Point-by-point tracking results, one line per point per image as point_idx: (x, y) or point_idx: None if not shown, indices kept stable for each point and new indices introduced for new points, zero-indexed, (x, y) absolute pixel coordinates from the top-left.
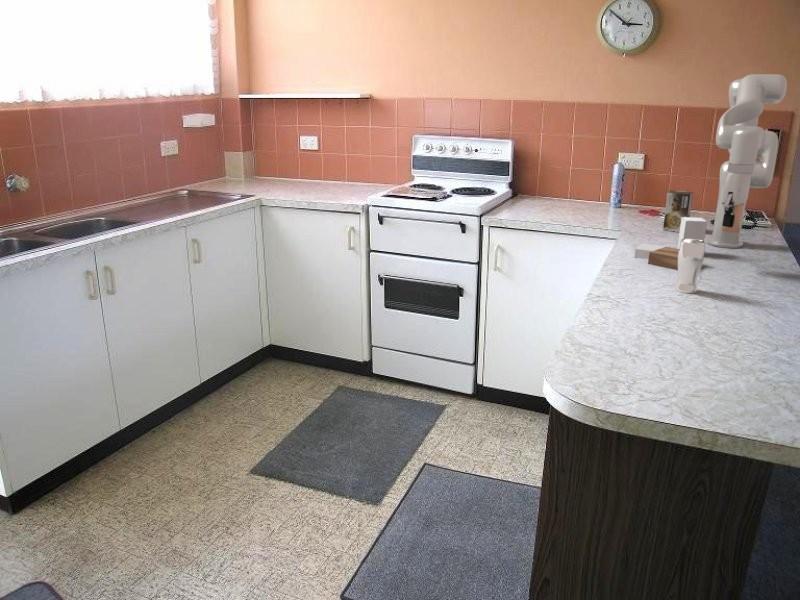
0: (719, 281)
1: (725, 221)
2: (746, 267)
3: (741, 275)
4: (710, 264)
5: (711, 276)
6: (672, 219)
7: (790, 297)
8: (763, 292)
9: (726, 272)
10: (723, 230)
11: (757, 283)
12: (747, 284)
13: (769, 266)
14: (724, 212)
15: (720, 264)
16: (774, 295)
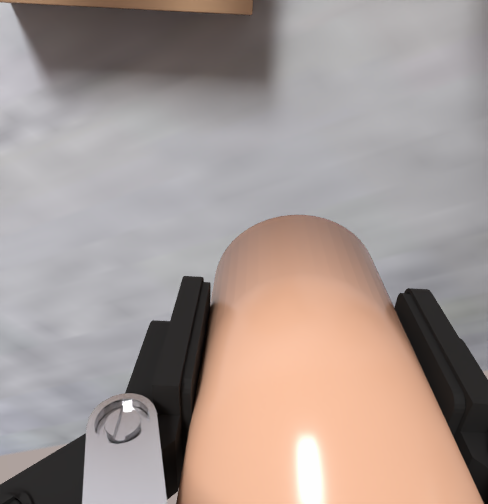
0: (11, 233)
1: (148, 344)
2: (377, 239)
3: (201, 267)
4: (314, 74)
5: (59, 176)
6: None
7: (53, 440)
8: (27, 382)
9: (200, 203)
10: (224, 253)
11: (128, 341)
12: (78, 322)
13: (465, 303)
14: (87, 427)
15: (355, 120)
16: (27, 410)
